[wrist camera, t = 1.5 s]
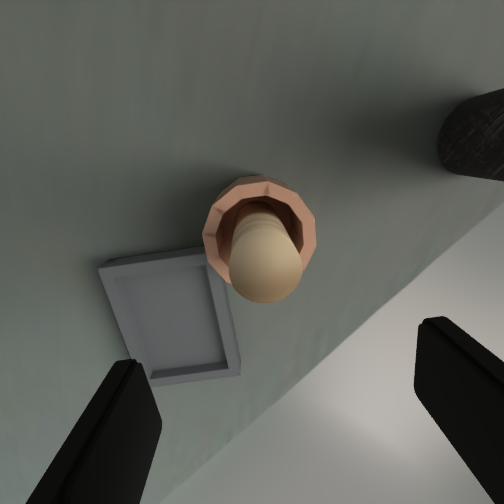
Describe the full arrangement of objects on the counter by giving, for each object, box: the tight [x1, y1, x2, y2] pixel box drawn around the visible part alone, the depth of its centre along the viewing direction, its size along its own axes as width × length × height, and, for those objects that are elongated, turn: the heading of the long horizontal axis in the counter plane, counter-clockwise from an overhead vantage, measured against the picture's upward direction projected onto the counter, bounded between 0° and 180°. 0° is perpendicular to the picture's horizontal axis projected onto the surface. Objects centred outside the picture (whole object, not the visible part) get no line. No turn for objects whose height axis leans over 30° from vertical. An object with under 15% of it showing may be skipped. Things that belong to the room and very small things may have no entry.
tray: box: [98, 246, 241, 387], centre depth 31 cm, size 16×12×2 cm
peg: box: [229, 201, 302, 303], centre depth 22 cm, size 4×4×12 cm
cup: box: [202, 174, 316, 284], centre depth 25 cm, size 9×9×7 cm
